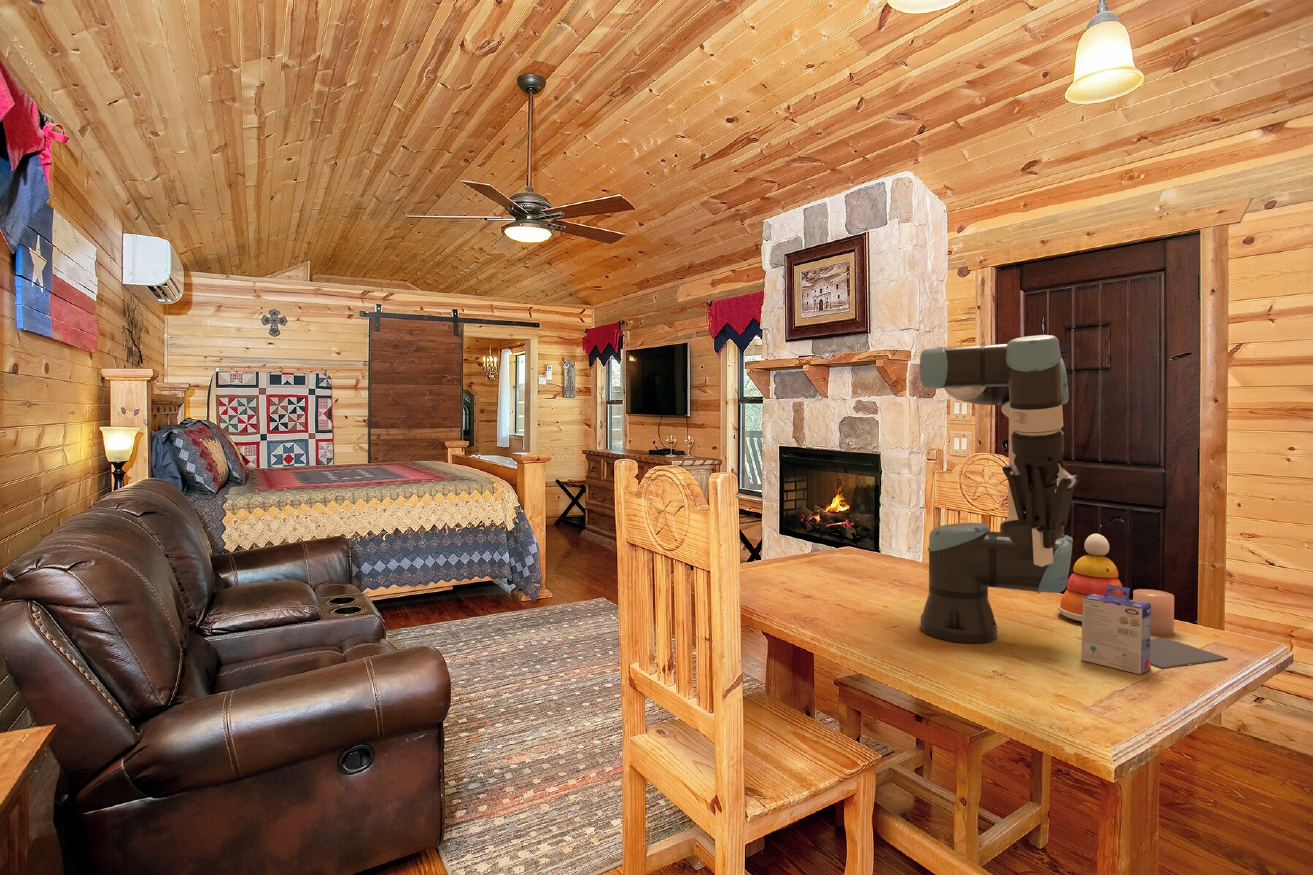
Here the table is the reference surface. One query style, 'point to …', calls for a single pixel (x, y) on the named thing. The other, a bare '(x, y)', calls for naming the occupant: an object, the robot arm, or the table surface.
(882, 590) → the table surface
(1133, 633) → the ink cartridge box
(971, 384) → the robot arm
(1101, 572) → the stacking toy
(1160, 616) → the pink pillar candle
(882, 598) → the table surface
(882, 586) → the table surface
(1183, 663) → the mat
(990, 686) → the table surface
